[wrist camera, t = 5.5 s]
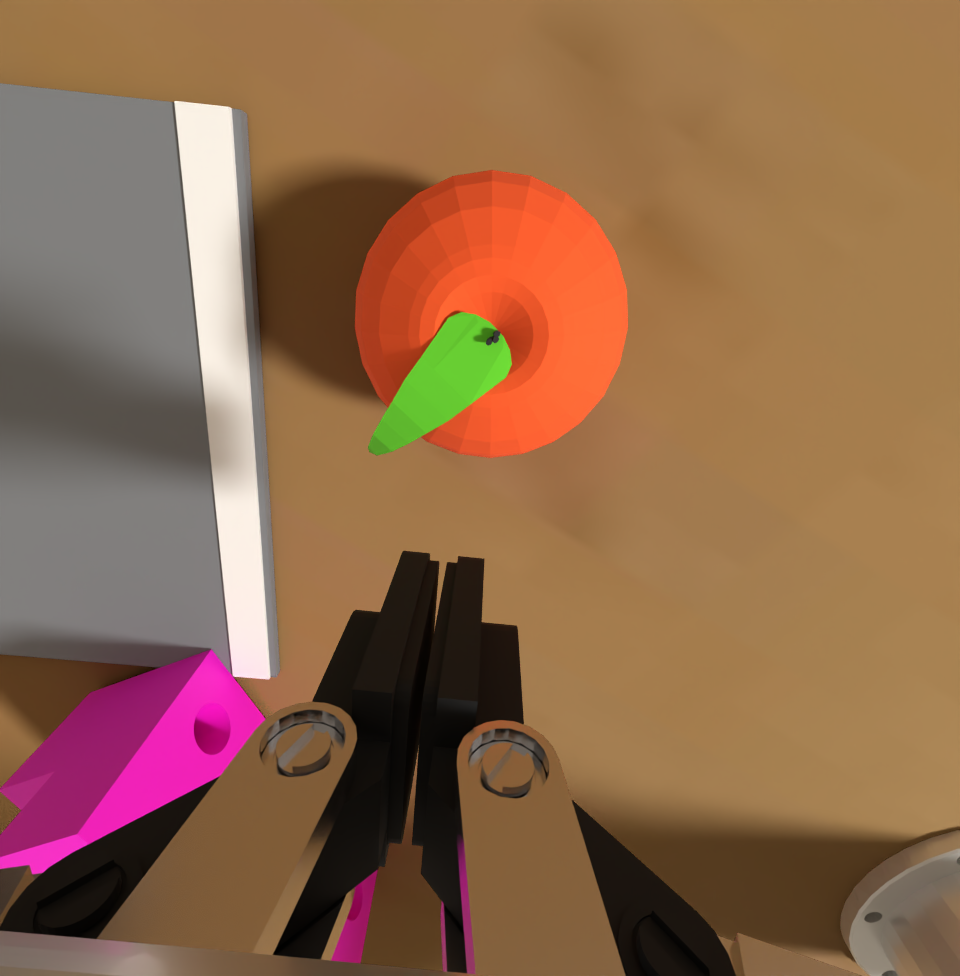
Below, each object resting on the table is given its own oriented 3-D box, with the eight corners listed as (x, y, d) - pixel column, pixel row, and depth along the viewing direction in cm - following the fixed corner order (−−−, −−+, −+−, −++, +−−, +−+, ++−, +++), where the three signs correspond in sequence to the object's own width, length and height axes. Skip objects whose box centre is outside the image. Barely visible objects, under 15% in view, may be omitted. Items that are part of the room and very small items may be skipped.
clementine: (468, 480, 19) (458, 586, 12) (319, 341, 17) (212, 377, 10) (641, 317, 17) (743, 339, 10) (491, 138, 15) (494, 23, 8)
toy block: (90, 692, 22) (-90, 884, 15) (211, 649, 21) (77, 833, 14) (274, 891, 28) (203, 1099, 21) (378, 864, 26) (339, 1074, 20)
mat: (246, 113, 15) (238, 108, 14) (280, 670, 22) (275, 679, 22) (-294, 55, 14) (-323, 46, 14) (-78, 640, 22) (-92, 649, 21)
